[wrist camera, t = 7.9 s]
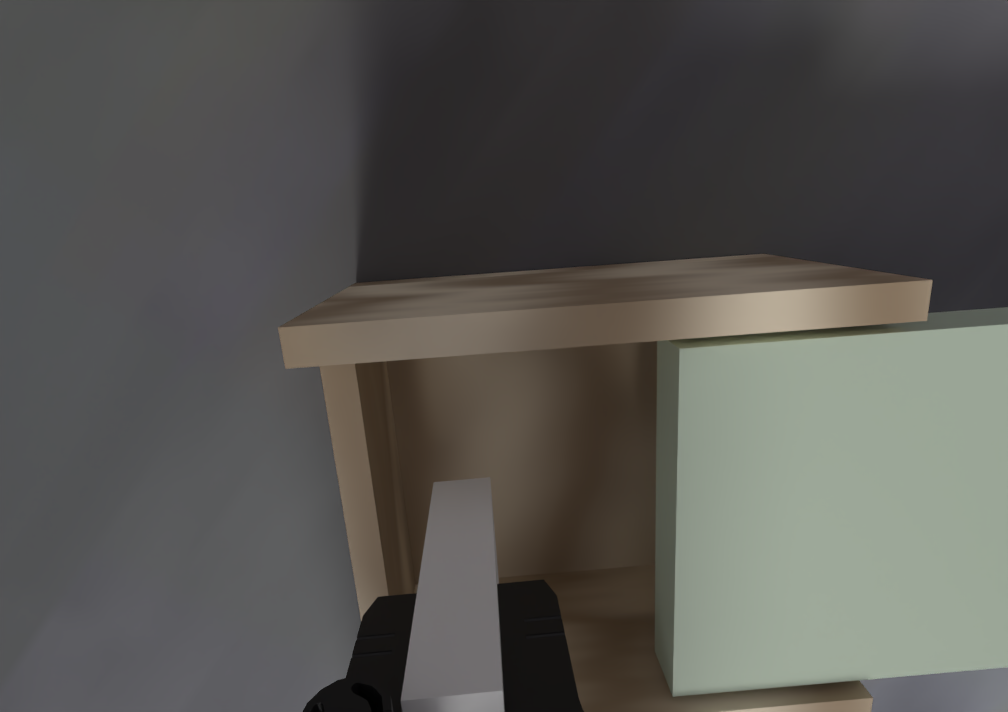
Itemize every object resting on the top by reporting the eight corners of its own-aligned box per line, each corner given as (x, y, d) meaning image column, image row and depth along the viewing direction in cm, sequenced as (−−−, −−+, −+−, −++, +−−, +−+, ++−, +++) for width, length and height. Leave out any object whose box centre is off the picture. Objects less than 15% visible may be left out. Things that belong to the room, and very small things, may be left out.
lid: (654, 650, 16) (683, 723, 14) (657, 333, 14) (693, 358, 11) (1107, 611, 17) (1210, 676, 14) (1195, 293, 14) (1336, 310, 12)
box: (398, 588, 21) (358, 769, 15) (355, 283, 18) (277, 327, 11) (745, 559, 22) (869, 723, 15) (763, 253, 19) (932, 279, 12)
